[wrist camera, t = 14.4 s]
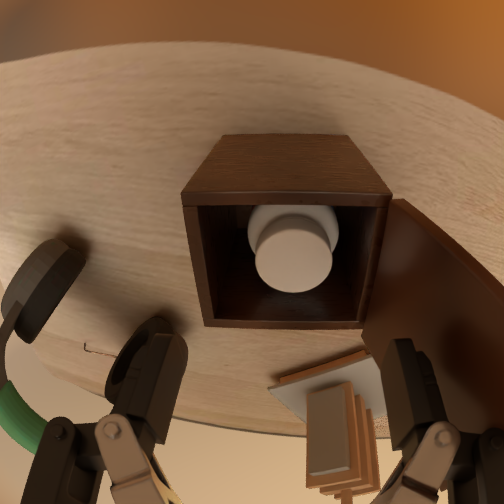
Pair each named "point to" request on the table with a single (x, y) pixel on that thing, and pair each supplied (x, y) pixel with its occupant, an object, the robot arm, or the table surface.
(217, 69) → the table surface
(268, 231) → the pill bottle
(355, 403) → the desk lamp
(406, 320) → the lid
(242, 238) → the chest
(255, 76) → the table surface
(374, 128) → the table surface
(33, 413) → the headphones
